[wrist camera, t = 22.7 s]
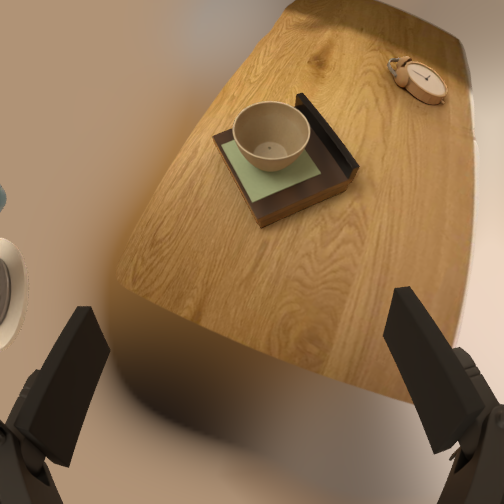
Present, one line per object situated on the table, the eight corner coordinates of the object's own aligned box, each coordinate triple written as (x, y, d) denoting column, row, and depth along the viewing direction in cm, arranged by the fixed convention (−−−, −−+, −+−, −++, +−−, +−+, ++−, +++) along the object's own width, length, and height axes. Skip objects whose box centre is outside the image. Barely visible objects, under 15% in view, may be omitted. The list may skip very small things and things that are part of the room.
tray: (257, 230, 45) (256, 210, 39) (215, 150, 50) (209, 123, 43) (347, 189, 47) (359, 166, 40) (298, 119, 51) (302, 92, 45)
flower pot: (222, 157, 44) (216, 127, 38) (269, 122, 46) (270, 91, 39) (270, 200, 42) (272, 173, 35) (317, 159, 44) (325, 129, 37)
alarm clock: (448, 105, 50) (390, 66, 49) (436, 117, 54) (380, 80, 54) (448, 79, 52) (396, 43, 52) (438, 90, 57) (387, 56, 57)
